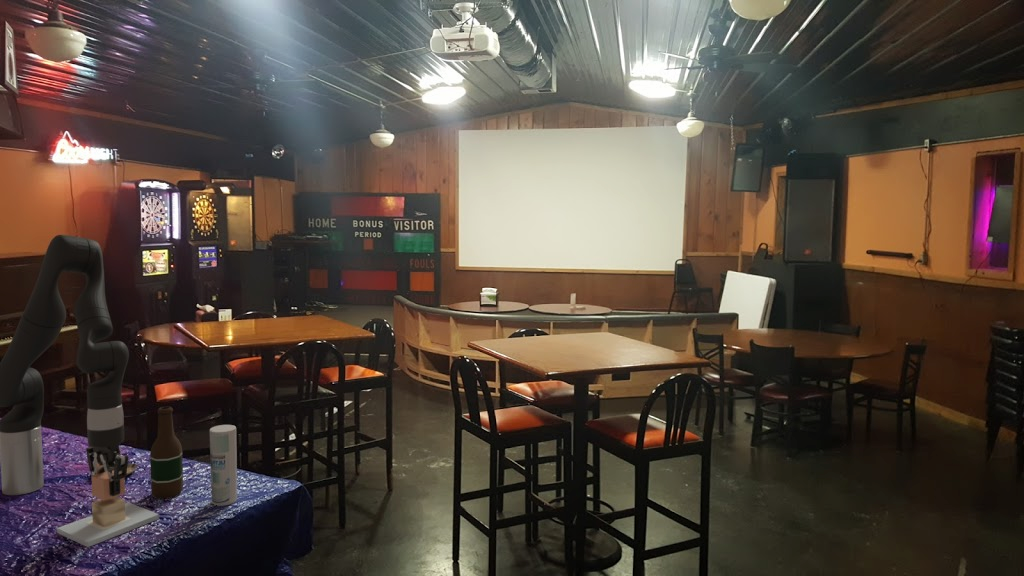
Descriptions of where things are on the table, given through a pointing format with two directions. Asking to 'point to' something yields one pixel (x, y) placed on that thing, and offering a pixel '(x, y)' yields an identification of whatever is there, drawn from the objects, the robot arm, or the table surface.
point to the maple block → (108, 511)
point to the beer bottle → (166, 458)
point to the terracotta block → (104, 486)
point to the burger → (130, 468)
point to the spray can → (223, 464)
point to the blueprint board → (94, 533)
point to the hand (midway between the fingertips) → (108, 491)
